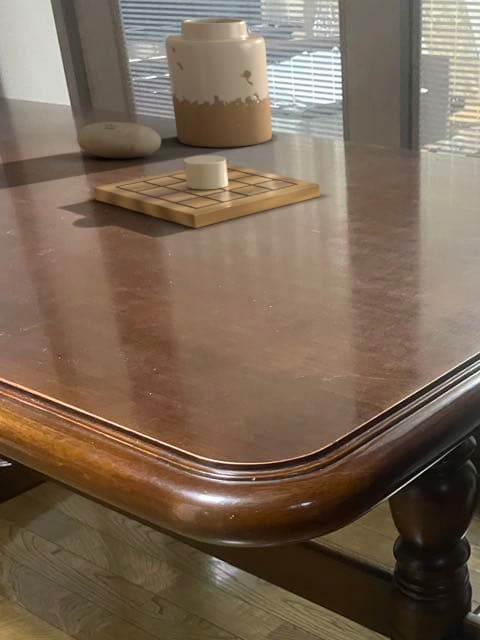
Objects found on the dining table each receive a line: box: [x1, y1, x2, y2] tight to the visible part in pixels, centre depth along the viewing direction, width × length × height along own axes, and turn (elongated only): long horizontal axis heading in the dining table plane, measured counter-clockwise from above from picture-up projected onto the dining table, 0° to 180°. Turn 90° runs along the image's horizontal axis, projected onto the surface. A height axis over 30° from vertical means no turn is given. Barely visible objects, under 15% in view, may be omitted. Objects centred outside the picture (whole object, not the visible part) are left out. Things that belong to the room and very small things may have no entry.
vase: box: [164, 17, 273, 148], centre depth 139 cm, size 15×15×17 cm
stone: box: [76, 121, 162, 160], centre depth 130 cm, size 6×6×12 cm
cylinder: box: [183, 154, 229, 190], centre depth 110 cm, size 5×5×3 cm
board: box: [93, 163, 321, 229], centre depth 111 cm, size 20×20×2 cm
